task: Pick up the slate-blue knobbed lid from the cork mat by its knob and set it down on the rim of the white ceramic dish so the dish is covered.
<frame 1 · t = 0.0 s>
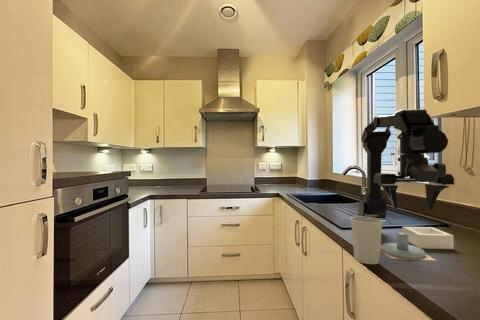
hand: (412, 209, 72), 15 cm above the counter, tool pointing down, fingers open, 9 cm apart
mat: (402, 254, 78), on the counter
lid: (402, 252, 78), point 1 cm above the counter, touching mat
cup: (366, 263, 72), on the counter
dish: (426, 245, 85), on the counter
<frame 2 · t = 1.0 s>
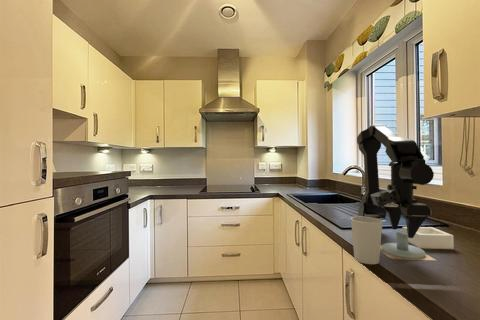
hand: (402, 233, 78), 6 cm above the counter, tool pointing down, fingers open, 9 cm apart
nothing on the counter moved.
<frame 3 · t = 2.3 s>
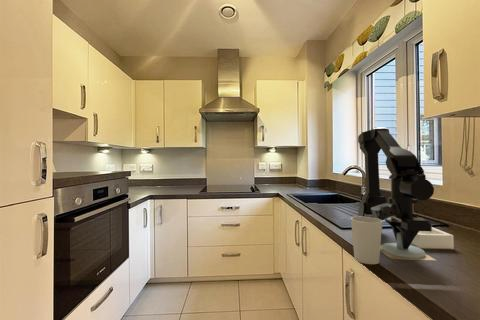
hand: (402, 246, 78), 2 cm above the counter, tool pointing down, fingers closed on lid, 3 cm apart
lid: (402, 251, 78), point 1 cm above the counter, touching gripper, mat
everything else where it was.
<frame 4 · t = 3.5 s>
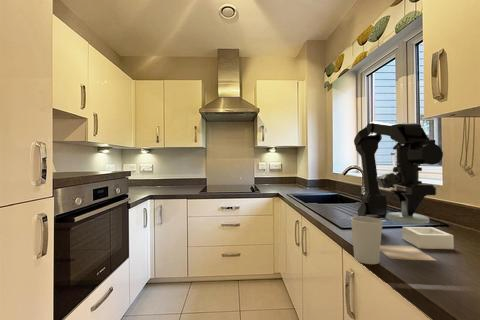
hand: (407, 214, 80), 12 cm above the counter, tool pointing down, fingers closed on lid, 3 cm apart
lid: (407, 219, 80), point 10 cm above the counter, touching gripper
everything else where it was.
when the fingers open (8 cm above the counter, at t = 5.0 s): lid drops 1 cm, resting on dish.
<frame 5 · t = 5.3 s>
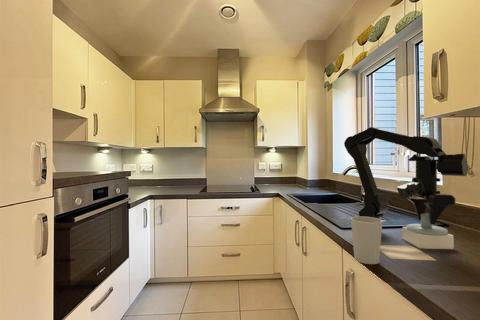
hand: (426, 221, 86), 8 cm above the counter, tool pointing down, fingers open, 6 cm apart
lid: (426, 230, 86), point 5 cm above the counter, touching dish
everything else where it was.
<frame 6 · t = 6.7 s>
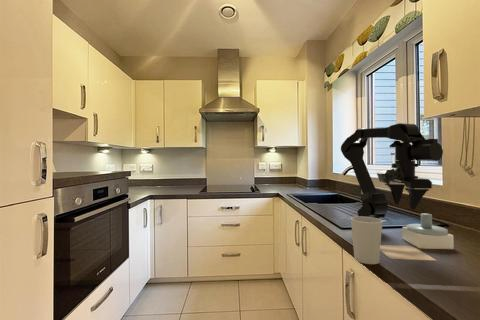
hand: (404, 206, 87), 13 cm above the counter, tool pointing down, fingers open, 9 cm apart
nothing on the counter moved.
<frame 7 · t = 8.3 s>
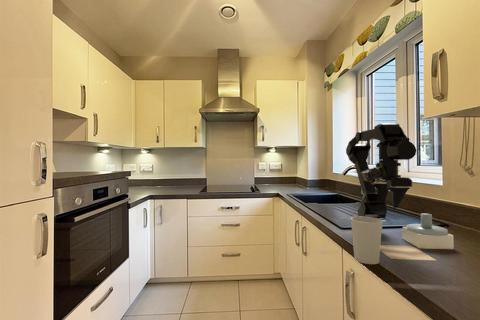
hand: (388, 205, 89), 13 cm above the counter, tool pointing down, fingers open, 9 cm apart
nothing on the counter moved.
at the end: lid 0.0 cm off-centre on the dish, point 5.0 cm above the dish's base; lid tilted 0°; the gripper is holding nothing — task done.
